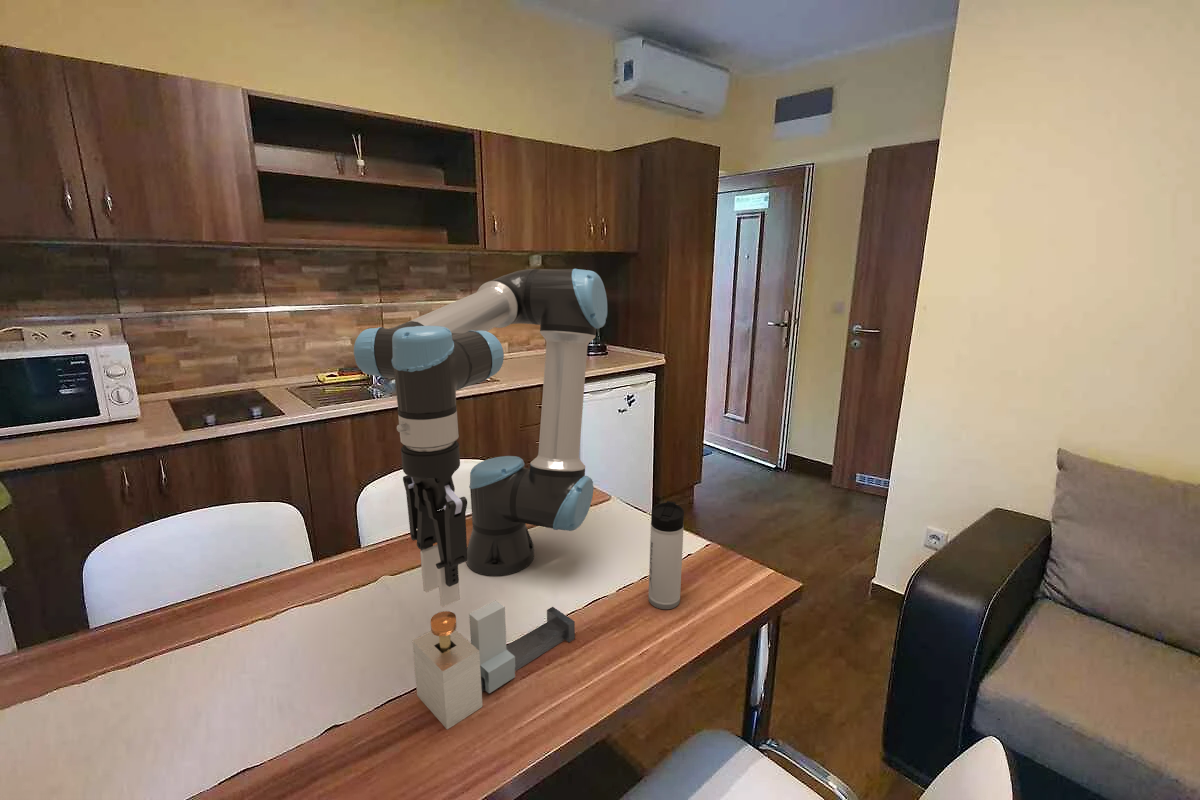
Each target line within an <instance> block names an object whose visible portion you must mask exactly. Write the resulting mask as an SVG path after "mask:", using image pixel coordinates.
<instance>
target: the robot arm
mask: <svg viewBox="0 0 1200 800" xmlns="http://www.w3.org/2000/svg"><path fill="white" fill-rule="evenodd" d="M607 318H608V297H607V292H606V289H605V285H604V282H603V280H602V278H601V276H600V275H599V274H598V273H597V272H596V271H593V270H589V269H587V270H586V269H578V268H528V269H527V268H526V269H520V270H517V271H516V270H515V271H514V272H510V273H508V274H504V275H502V276H499V277H497V278H494V279H490V280H489V281H486V282H484V283H483V284H482V285H480V286H479V288H478V289H477V291H476V292H474V293H471V294H469V295H467V296H465V297H462V298H459V299H457V300H455V301H453V302H451V303H448V304H446V305H443V306H442V307H439V308H437V309H435V310H431V311H430V312H428V313H425V314H423V315H420V316H418V317H415V318H413V319H411V320H409V321H406V322H403V323H402V324H399V325H397V326H394V327H390V328H385V327H382V326H380V327H374V328H371V327H370V328H366V329H364V330H362V331H361V332H360V333H359V334H358V336H357V337H356V338H355V342H354V345H353V356H354V360H355V364H356V366H357V367H358V368H359V370H360V371H361V372H362V373H364V374H367V375H368V376H373V377H374V376H375V377H380V378H382V379H394V383H395V394H396V402H397V416H398V424H397V426H396V431H397V432H398V433H399V438H400V443H401V444H402V446H401V448H400V453H401V454H400V455H401V465H402V471H403V474H405V475H404V476H402V482H403V485H404V489H405V494H406V503H407V505H406V506H407V513H408V523H409V524H408V525H409V531H410V532H409V534H410V539H411V540H412V542H413V541H416V546H417V548H418V550H420V552H419V553H420V565H421V576H422V578H421V579H422V585H423V586H422V588H423V592H424V593H425V594H426V593H429V592H431V591H433V590H435V589H438V592H439V605H440V606H441V607H442V608H445V607H446V606H448V605H449V606H450V605H451V604H453V603H455V602H457V601H459V600H460V599H461V597H460V596H461V594H460V582H459V581H460V578H459V565H461V564H462V563H465V562H466V565H467V567H468V568H469V569H471V571H472V572H475V573H477V574H481V575H484V576H494V577H495V576H496V577H497V576H499V577H500V576H506V575H507V576H508V575H510V574H514V573H518V572H521V571H522V570H524V569H526V568H527V567H528V566H530V564H532V562H533V561H534V559H535V545H534V542H533V540H532V537H531V535H530V532H529V530H528V527H527V525H532V526H537V527H543V528H548V529H553V530H554V531H558V530H561V531H567V532H568V531H569V532H571V531H574V530H577V529H578V528H579V527H580V526H581V525H582V524H583V523H584V521H585V519H586V517H587V516H588V513H589V511H590V507H591V504H592V501H593V496H594V489H595V487H594V481H593V478H591V477H589V475H586V465H585V463H584V462H583V461H582V460H581V459H580V450H581V449H580V447H581V435H582V433H581V432H582V420H583V409H584V398H585V397H584V396H585V395H584V394H585V382H586V380H585V379H586V370H587V357H588V345H589V343H591V342H592V341H593V340H594V339H595V338H596V335H597V329H598V330H599V329H600V328H603V327H604V326H605V325H606V322H607V321H606V320H607ZM514 324H515V325H516V324H523V325H525V324H526V325H536V326H537V325H538V326H540V327H539V328H540V329H539V333H540V335H541V336H542V337H543V339H544V340H545V342H546V346H545V356H544V357H545V358H544V360H545V361H544V372H543V384H542V387H543V388H542V400H541V413H540V415H541V416H540V427H539V441H538V453H537V456H536V457H535V458H534V459H533V460H532V461H530V463H529V464H530V465H529V468H528V467H525V465H526V464H525V462H524V460H523V458H521V457H520V456H515V455H504V456H503V455H502V456H496V457H492V458H489V459H485V460H483V461H479V463H477V464H475V465H474V466H473V467H472V469H471V471H470V473H469V486H468V487H469V490H470V504H471V506H470V507H471V522H472V523H471V524H472V531H471V533H470V537H469V541H467V540H468V539H467V520H466V519H467V517H466V514H467V513H466V512H467V506H468V499H467V498H466V496H461V497H458V495H457V494H456V493H455V492H456V491H455V490H456V489H455V485H454V481H453V475H454V474H455V472H457V471H458V469H460V466H461V456H460V444H459V442H458V441H457V440H458V439H459V437H460V436H459V422H458V409H457V396H456V395H457V391H459V390H461V389H464V388H466V387H469V386H472V385H475V384H478V383H483V382H486V380H488V379H489V378H492V377H494V376H495V375H496V374H497V373H498V372H499V371H500V370H501V369H502V368H503V367H502V366H503V363H504V359H505V358H504V357H505V356H504V355H505V354H504V349H503V345H502V343H501V342H500V340H499V339H498V338H497V336H495V335H494V334H493V333H491V332H489V331H491V330H492V329H494V328H498V329H502V328H506V327H509V326H510V325H514ZM526 524H527V525H526ZM467 543H468V544H467ZM434 544H435V545H434Z"/></svg>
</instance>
